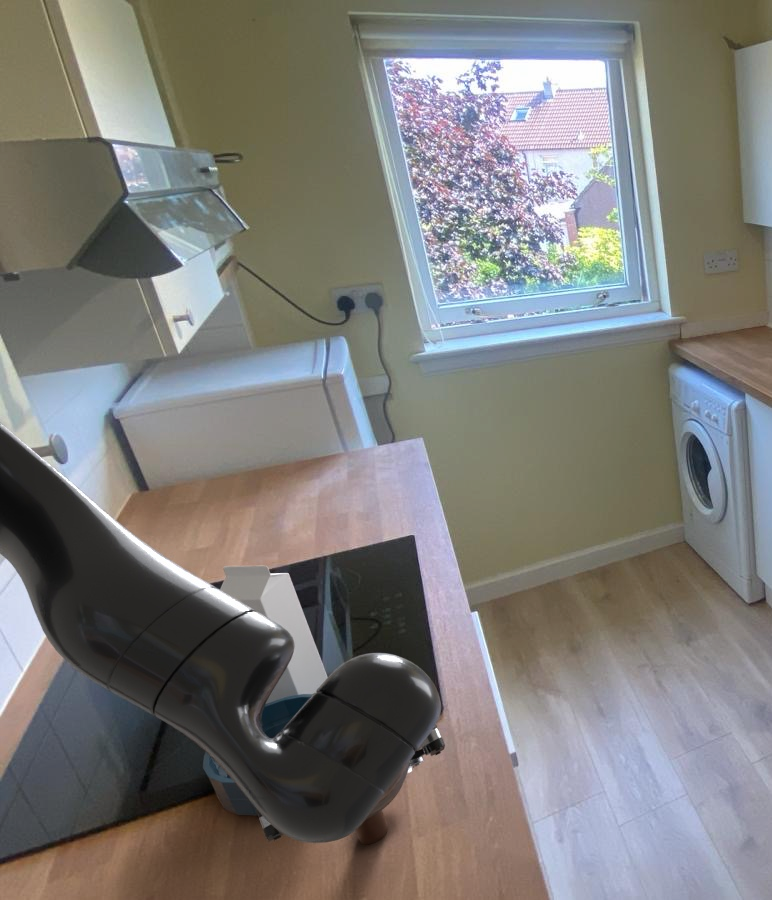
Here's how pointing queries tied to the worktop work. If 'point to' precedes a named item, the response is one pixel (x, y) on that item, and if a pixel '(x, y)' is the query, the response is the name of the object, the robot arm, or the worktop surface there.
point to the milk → (283, 607)
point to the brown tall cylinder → (372, 829)
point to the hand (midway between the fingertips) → (357, 784)
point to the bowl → (272, 724)
